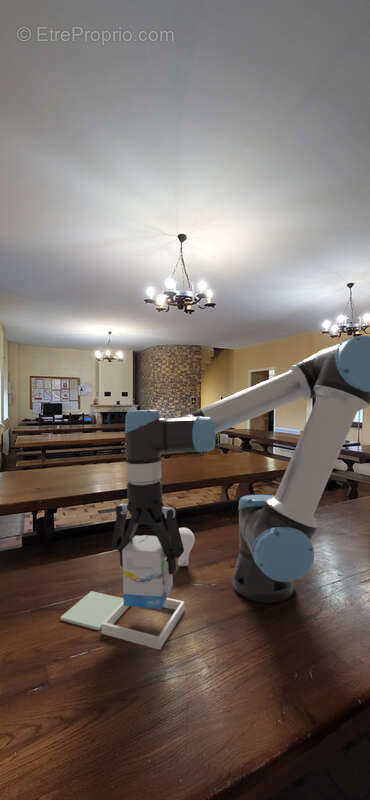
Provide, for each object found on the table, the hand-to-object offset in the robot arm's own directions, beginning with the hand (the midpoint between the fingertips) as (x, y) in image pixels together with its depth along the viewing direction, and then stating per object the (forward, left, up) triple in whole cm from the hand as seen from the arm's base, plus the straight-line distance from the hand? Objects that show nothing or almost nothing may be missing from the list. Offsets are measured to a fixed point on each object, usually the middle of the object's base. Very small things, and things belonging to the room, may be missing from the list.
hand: (148, 584), depth 74 cm
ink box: (0, 0, -3) cm, 3 cm away
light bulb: (+2, -26, -8) cm, 27 cm away
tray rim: (+1, 0, -8) cm, 8 cm away
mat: (+13, +1, -8) cm, 16 cm away
